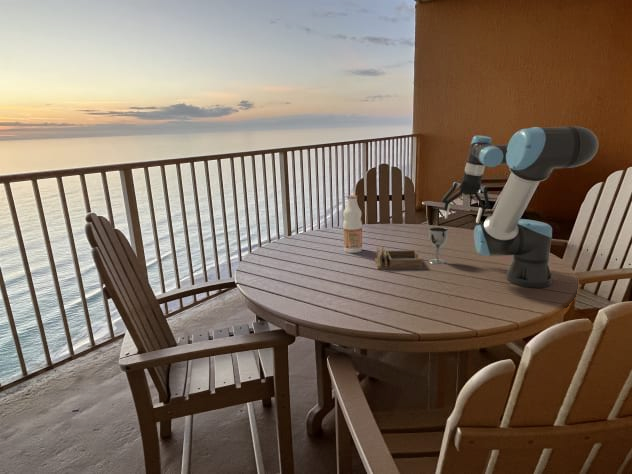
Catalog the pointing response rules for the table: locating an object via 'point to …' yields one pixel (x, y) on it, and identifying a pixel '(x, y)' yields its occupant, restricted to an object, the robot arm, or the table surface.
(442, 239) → the silver goblet
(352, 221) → the fruit juice
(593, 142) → the robot arm
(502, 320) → the table surface
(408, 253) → the wooden tray
